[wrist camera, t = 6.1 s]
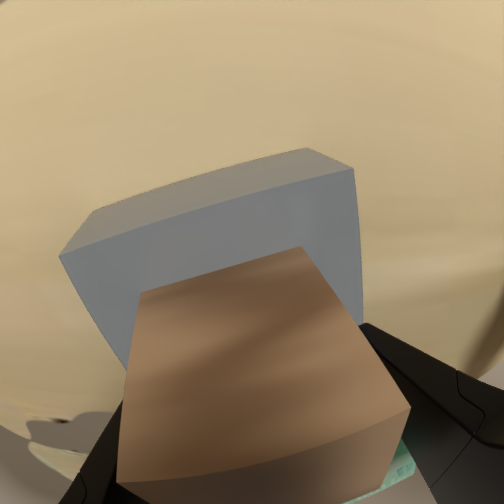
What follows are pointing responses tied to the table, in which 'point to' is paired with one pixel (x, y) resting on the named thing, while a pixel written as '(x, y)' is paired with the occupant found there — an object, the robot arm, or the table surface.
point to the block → (255, 392)
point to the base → (217, 234)
